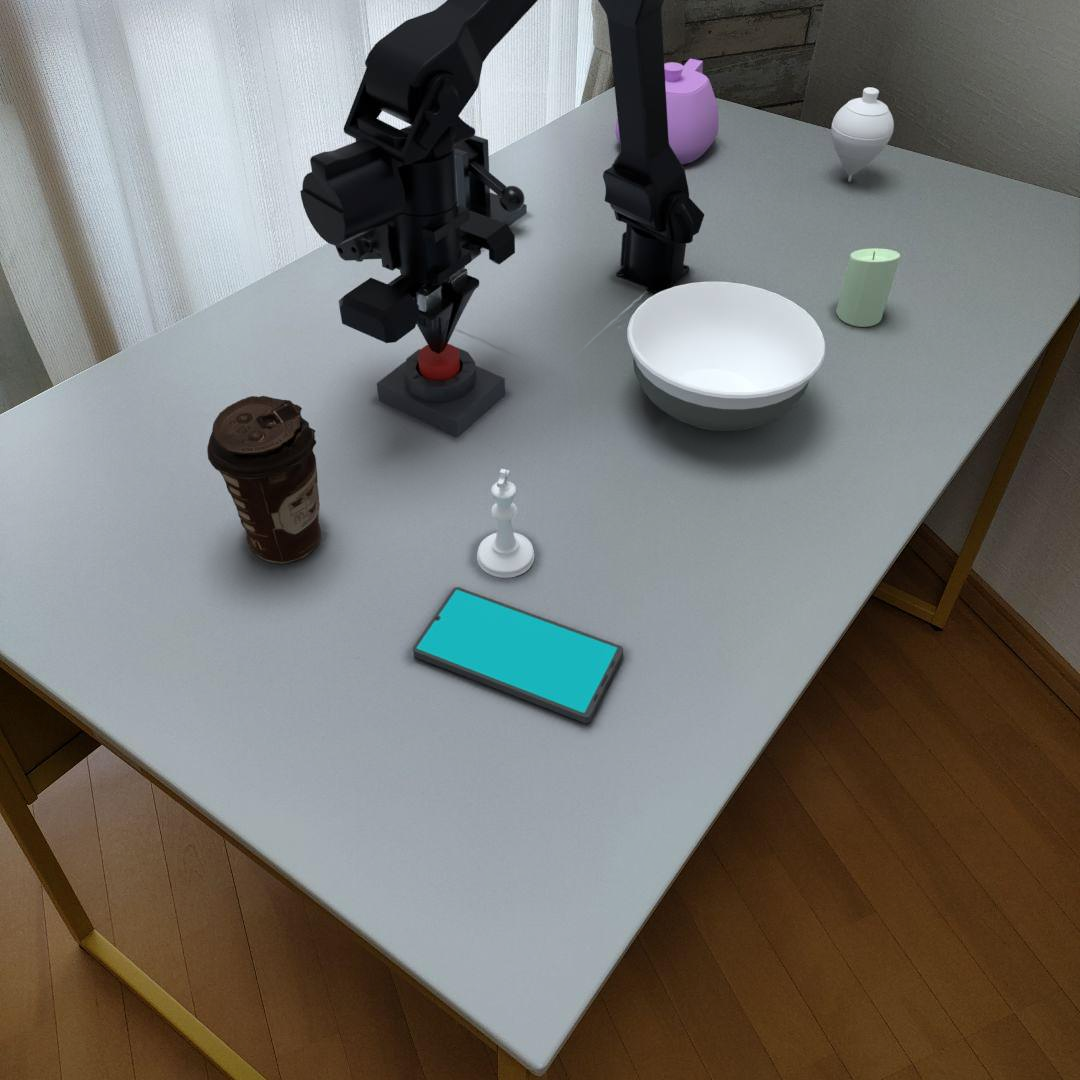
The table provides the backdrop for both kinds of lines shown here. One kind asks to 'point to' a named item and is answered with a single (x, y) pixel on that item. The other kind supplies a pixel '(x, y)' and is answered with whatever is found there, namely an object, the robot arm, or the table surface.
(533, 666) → the smartphone
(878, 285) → the candle
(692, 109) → the teapot
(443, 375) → the red button
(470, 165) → the black lever
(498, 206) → the lever bracket
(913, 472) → the table surface
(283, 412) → the coffee cup
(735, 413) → the bowl
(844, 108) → the spinning top
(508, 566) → the chess piece
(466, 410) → the control block
